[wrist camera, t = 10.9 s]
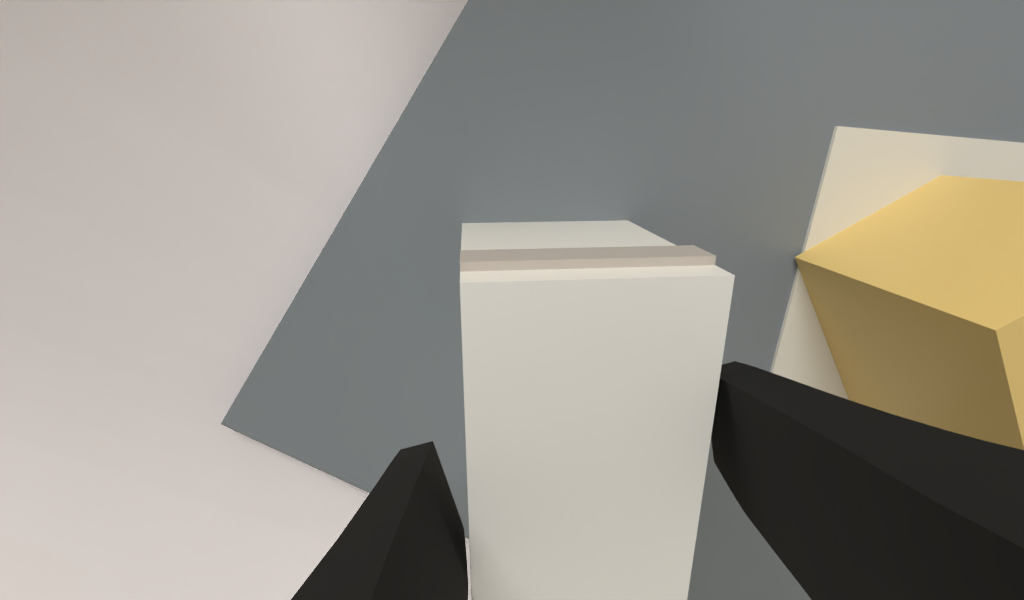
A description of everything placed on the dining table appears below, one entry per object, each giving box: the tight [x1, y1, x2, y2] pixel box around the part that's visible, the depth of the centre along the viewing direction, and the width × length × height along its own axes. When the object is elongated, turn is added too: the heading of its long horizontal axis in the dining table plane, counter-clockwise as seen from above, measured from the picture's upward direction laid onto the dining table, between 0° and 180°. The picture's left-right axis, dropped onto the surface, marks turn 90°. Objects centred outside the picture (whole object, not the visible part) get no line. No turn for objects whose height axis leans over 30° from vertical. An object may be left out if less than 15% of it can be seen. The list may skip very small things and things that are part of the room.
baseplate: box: [221, 0, 1024, 600], centre depth 13 cm, size 24×20×1 cm
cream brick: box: [460, 220, 735, 600], centre depth 10 cm, size 4×7×5 cm, turn 0°
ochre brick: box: [795, 175, 1024, 450], centre depth 11 cm, size 4×7×5 cm, turn 30°
